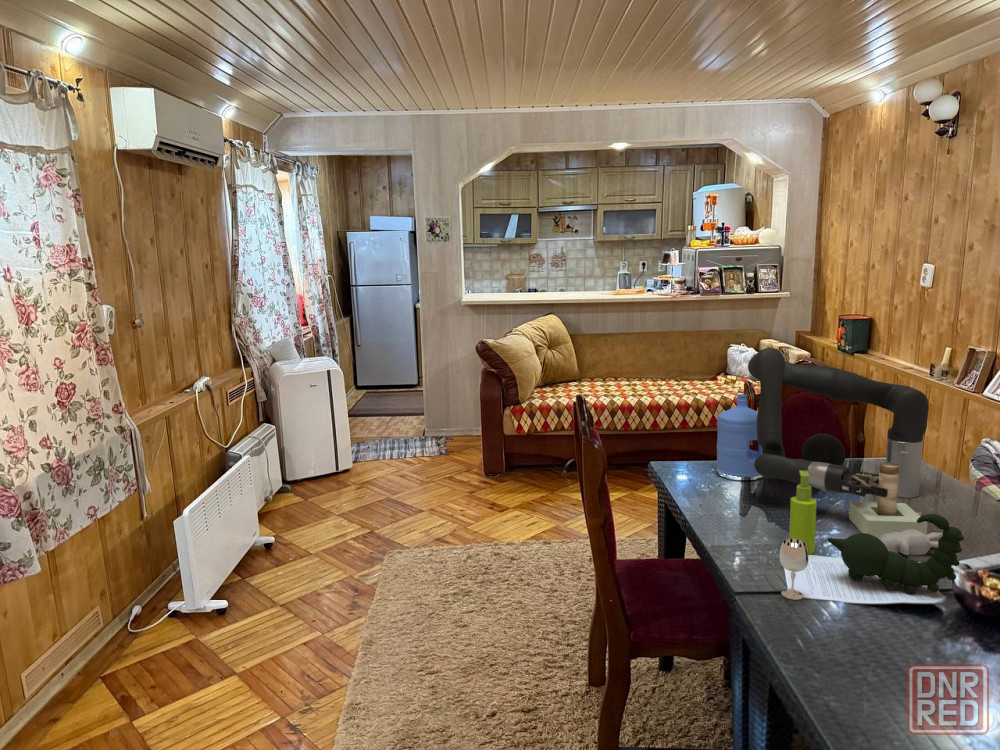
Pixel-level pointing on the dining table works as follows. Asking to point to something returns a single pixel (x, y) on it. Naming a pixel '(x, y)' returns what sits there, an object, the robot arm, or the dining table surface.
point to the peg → (890, 482)
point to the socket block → (884, 519)
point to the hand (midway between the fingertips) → (892, 489)
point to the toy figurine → (901, 558)
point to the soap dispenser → (803, 514)
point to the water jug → (737, 440)
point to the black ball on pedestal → (823, 449)
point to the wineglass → (793, 563)
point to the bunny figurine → (909, 541)
